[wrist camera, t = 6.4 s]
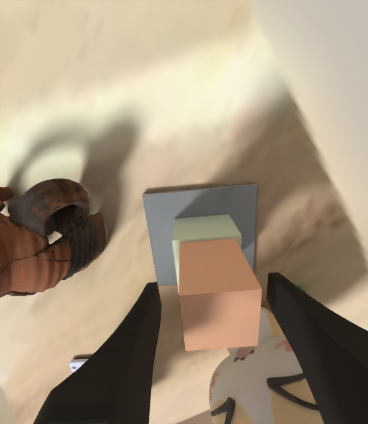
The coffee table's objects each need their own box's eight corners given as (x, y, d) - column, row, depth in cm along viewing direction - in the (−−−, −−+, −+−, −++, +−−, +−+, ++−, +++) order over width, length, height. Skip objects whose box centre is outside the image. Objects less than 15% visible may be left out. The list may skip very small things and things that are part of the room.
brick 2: (234, 282, 15) (257, 345, 11) (184, 286, 15) (185, 351, 11) (234, 238, 14) (262, 289, 9) (179, 242, 14) (178, 295, 9)
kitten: (288, 256, 20) (542, 537, 6) (325, 313, 23) (551, 590, 9) (174, 320, 23) (163, 605, 9) (219, 363, 26) (264, 628, 12)
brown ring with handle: (89, 279, 21) (-11, 336, 14) (46, 214, 23) (-63, 235, 16) (145, 213, 15) (19, 255, 8) (81, 130, 17) (-70, 107, 10)
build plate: (251, 275, 21) (253, 278, 20) (158, 282, 21) (158, 285, 20) (255, 183, 17) (257, 184, 17) (143, 193, 17) (142, 195, 17)
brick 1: (228, 260, 19) (240, 289, 16) (179, 264, 19) (178, 294, 16) (228, 214, 18) (241, 234, 14) (173, 218, 18) (172, 240, 14)
